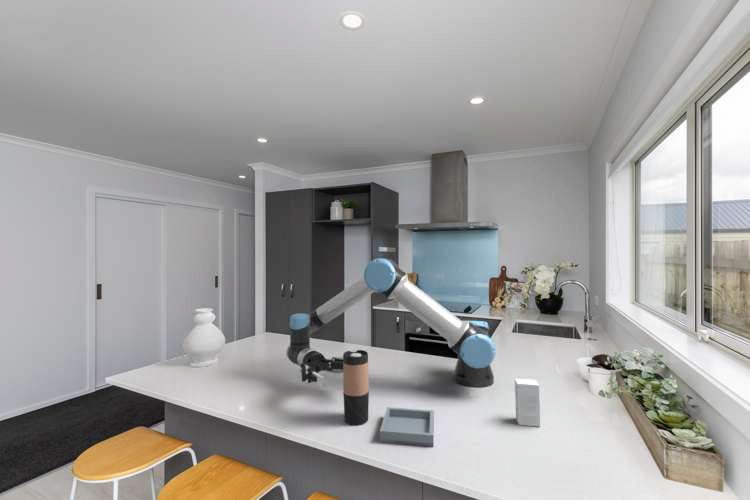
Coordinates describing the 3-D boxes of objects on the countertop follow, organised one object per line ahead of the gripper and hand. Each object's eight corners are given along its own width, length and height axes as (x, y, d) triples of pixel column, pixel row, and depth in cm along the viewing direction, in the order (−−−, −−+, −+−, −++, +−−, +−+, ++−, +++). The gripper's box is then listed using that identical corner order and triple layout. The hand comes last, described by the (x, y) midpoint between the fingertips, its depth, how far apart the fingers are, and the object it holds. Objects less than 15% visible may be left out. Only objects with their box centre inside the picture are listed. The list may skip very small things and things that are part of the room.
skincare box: (536, 420, 101) (536, 379, 101) (540, 427, 97) (539, 385, 97) (515, 418, 102) (514, 378, 102) (517, 425, 98) (517, 383, 98)
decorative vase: (213, 354, 171) (212, 305, 171) (233, 361, 161) (232, 308, 161) (175, 364, 157) (175, 310, 157) (194, 372, 146) (194, 314, 146)
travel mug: (359, 428, 97) (358, 358, 97) (338, 421, 101) (337, 354, 101) (373, 417, 104) (373, 351, 104) (353, 411, 108) (352, 348, 108)
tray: (433, 420, 101) (433, 410, 101) (433, 447, 87) (433, 435, 87) (387, 417, 104) (387, 407, 104) (379, 442, 90) (379, 430, 90)
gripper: (340, 363, 133) (373, 379, 116) (278, 378, 117) (306, 399, 101) (340, 344, 133) (373, 357, 116) (278, 357, 117) (305, 374, 101)
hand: (342, 376), depth 108 cm, fingers open, 13 cm apart
